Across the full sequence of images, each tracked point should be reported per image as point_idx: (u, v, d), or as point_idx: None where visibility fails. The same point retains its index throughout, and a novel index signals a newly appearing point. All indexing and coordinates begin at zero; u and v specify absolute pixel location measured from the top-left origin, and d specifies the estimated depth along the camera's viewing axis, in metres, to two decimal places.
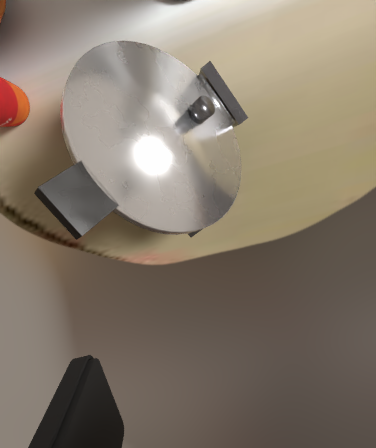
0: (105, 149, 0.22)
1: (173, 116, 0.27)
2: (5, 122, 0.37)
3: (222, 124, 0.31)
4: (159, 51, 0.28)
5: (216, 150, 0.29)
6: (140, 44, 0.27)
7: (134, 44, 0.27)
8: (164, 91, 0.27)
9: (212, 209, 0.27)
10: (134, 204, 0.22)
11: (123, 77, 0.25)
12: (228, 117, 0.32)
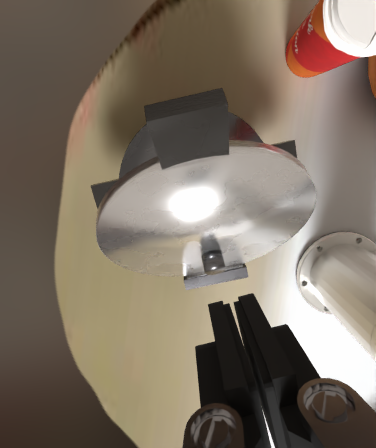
0: (226, 179, 0.19)
1: (221, 239, 0.26)
2: (296, 43, 0.33)
3: (191, 269, 0.31)
4: (278, 245, 0.29)
5: (170, 260, 0.28)
6: (293, 234, 0.28)
7: (296, 230, 0.27)
8: (245, 239, 0.27)
9: (113, 244, 0.24)
10: (155, 183, 0.18)
11: (277, 215, 0.24)
12: (194, 275, 0.32)
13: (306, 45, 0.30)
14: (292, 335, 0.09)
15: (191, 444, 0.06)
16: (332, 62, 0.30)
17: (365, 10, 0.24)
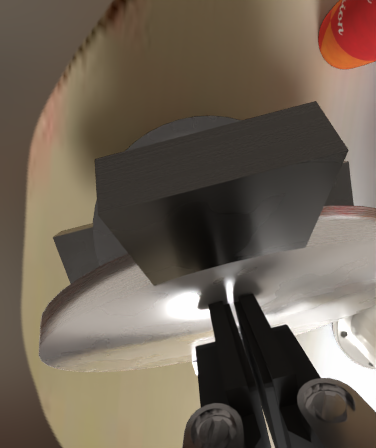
0: (284, 279, 0.10)
1: None
2: (341, 21, 0.23)
3: None
4: (334, 321, 0.20)
5: (174, 356, 0.18)
6: (360, 311, 0.18)
7: (367, 307, 0.18)
8: (289, 325, 0.17)
9: (77, 362, 0.14)
10: (140, 302, 0.09)
11: (350, 299, 0.15)
12: None
13: (363, 20, 0.20)
14: (292, 335, 0.09)
15: (191, 444, 0.06)
16: None
17: None
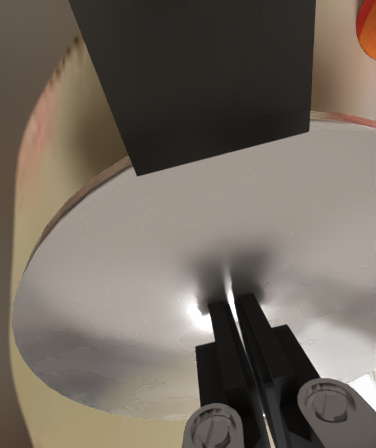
0: (296, 209, 0.08)
1: None
2: None
3: None
4: None
5: (181, 393, 0.15)
6: None
7: None
8: (324, 351, 0.14)
9: (59, 364, 0.12)
10: (124, 217, 0.08)
11: None
12: None
13: None
14: (292, 335, 0.09)
15: (191, 444, 0.06)
16: None
17: None
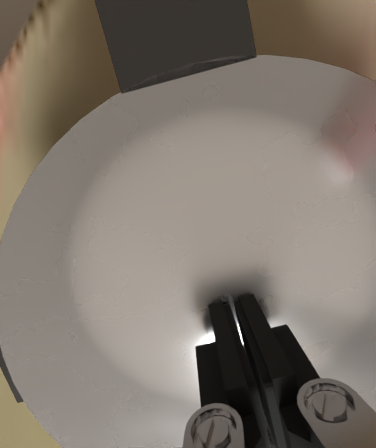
0: (262, 136, 0.09)
1: None
2: None
3: None
4: None
5: (169, 432, 0.12)
6: None
7: None
8: (344, 369, 0.11)
9: (31, 342, 0.11)
10: (110, 135, 0.09)
11: None
12: None
13: None
14: (292, 335, 0.09)
15: (191, 444, 0.06)
16: None
17: None
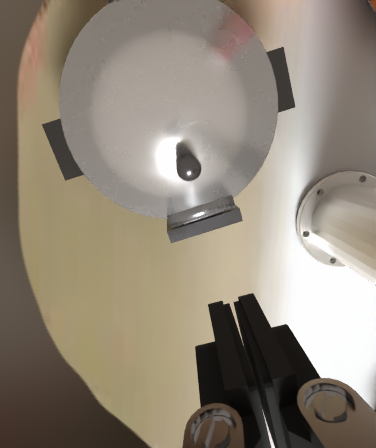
0: (167, 20, 0.23)
1: (190, 130, 0.25)
2: None
3: (170, 203, 0.26)
4: (264, 154, 0.26)
5: (141, 173, 0.25)
6: (273, 131, 0.25)
7: (273, 122, 0.25)
8: (218, 134, 0.25)
9: (76, 124, 0.24)
10: (106, 22, 0.22)
11: (238, 86, 0.24)
12: (177, 217, 0.26)
13: None
14: (292, 335, 0.09)
15: (191, 444, 0.06)
16: None
17: None
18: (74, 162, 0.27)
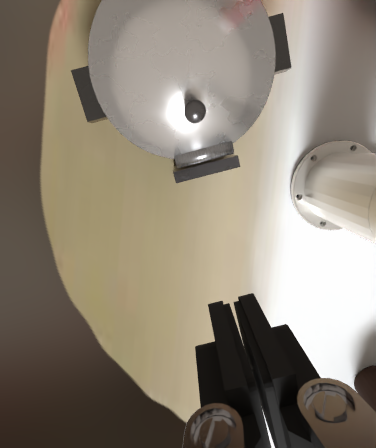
0: None
1: (198, 80, 0.29)
2: None
3: (177, 144, 0.30)
4: (261, 105, 0.29)
5: (154, 115, 0.29)
6: (270, 84, 0.29)
7: (271, 77, 0.29)
8: (222, 85, 0.29)
9: (101, 68, 0.28)
10: None
11: (241, 43, 0.28)
12: (182, 157, 0.30)
13: None
14: (292, 335, 0.09)
15: (191, 444, 0.06)
16: None
17: None
18: (96, 106, 0.31)
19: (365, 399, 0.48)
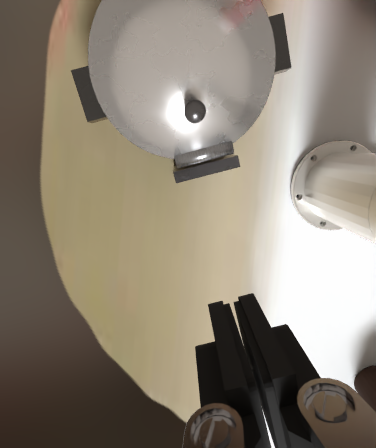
0: None
1: (198, 80, 0.29)
2: None
3: (177, 144, 0.30)
4: (261, 105, 0.29)
5: (154, 115, 0.29)
6: (270, 84, 0.29)
7: (271, 77, 0.29)
8: (222, 85, 0.29)
9: (101, 68, 0.28)
10: None
11: (241, 43, 0.28)
12: (182, 157, 0.30)
13: None
14: (292, 335, 0.09)
15: (191, 444, 0.06)
16: None
17: None
18: (96, 106, 0.31)
19: (365, 399, 0.48)
